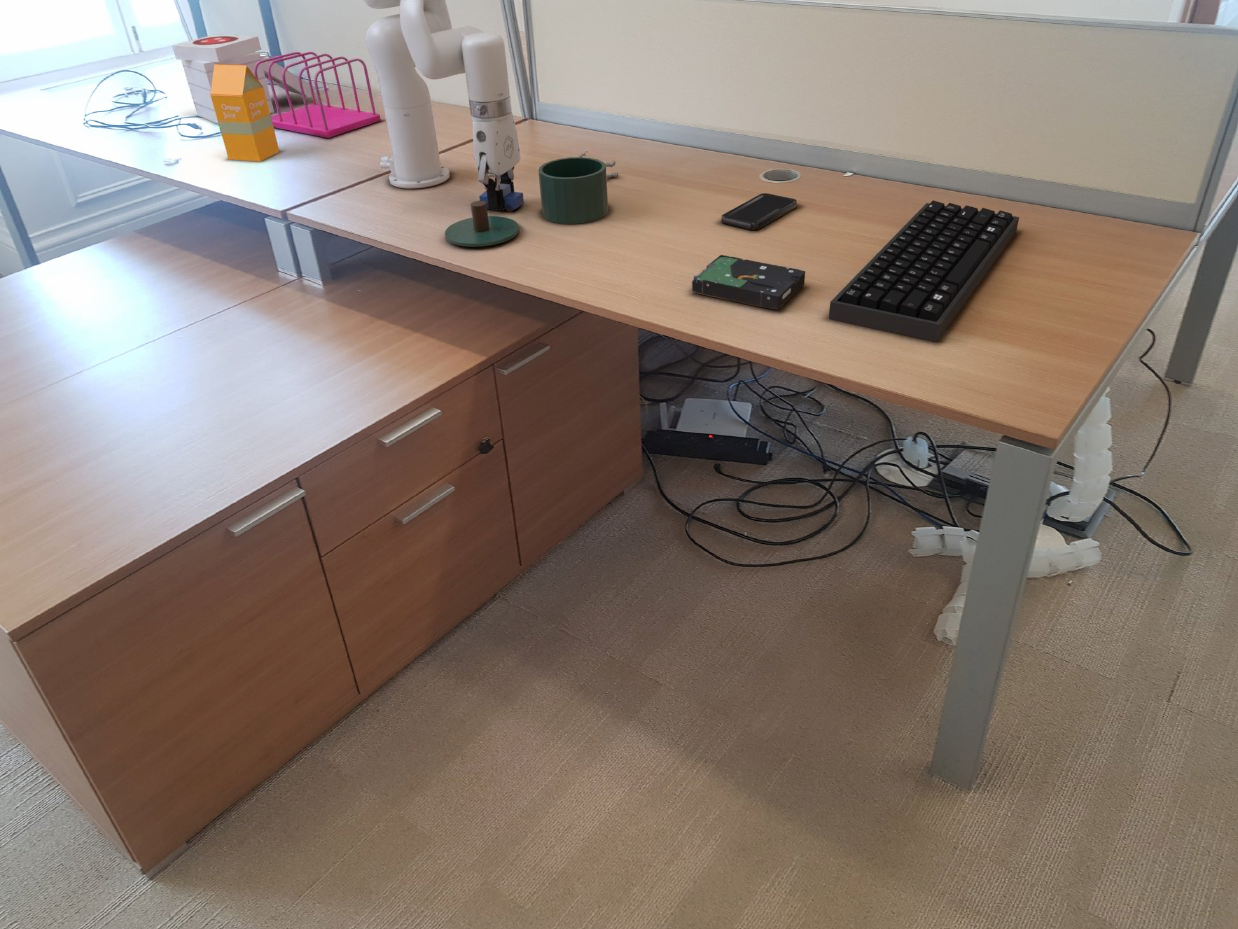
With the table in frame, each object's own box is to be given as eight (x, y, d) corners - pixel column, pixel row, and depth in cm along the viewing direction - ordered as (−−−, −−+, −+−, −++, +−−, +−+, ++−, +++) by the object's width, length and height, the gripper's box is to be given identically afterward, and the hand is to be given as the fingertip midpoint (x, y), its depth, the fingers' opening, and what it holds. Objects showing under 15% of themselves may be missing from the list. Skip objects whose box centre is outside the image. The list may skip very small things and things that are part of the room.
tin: (532, 220, 175) (527, 175, 170) (558, 198, 185) (555, 155, 180) (593, 226, 171) (590, 180, 166) (617, 203, 181) (615, 159, 176)
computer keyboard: (936, 342, 130) (941, 317, 128) (828, 318, 137) (830, 294, 135) (1016, 232, 161) (1020, 210, 158) (924, 217, 168) (927, 196, 166)
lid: (432, 245, 167) (426, 213, 164) (467, 219, 177) (463, 188, 174) (499, 253, 163) (494, 220, 160) (531, 225, 173) (528, 193, 170)
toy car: (480, 209, 182) (477, 188, 179) (489, 202, 185) (486, 181, 182) (515, 212, 179) (513, 191, 177) (524, 205, 182) (522, 184, 180)
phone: (719, 216, 169) (763, 192, 179) (719, 222, 170) (763, 197, 179) (756, 225, 165) (799, 199, 174) (756, 231, 166) (799, 205, 175)
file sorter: (328, 139, 226) (313, 70, 217) (263, 126, 238) (246, 60, 229) (381, 121, 237) (369, 55, 228) (316, 109, 249) (302, 46, 240)
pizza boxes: (321, 103, 255) (306, 31, 245) (216, 128, 239) (194, 52, 228) (288, 92, 267) (272, 23, 256) (185, 115, 251) (164, 43, 240)
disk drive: (805, 286, 147) (719, 269, 153) (806, 270, 145) (720, 252, 152) (778, 313, 140) (690, 293, 146) (780, 296, 138) (690, 276, 145)
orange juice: (259, 161, 213) (235, 68, 202) (227, 159, 216) (201, 67, 204) (280, 151, 219) (257, 60, 208) (249, 149, 222) (224, 59, 210)
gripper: (487, 121, 164) (500, 222, 174) (528, 96, 176) (537, 192, 187) (450, 119, 166) (464, 218, 177) (493, 95, 179) (504, 189, 189)
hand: (502, 204), depth 182 cm, fingers closed on toy car, 3 cm apart
